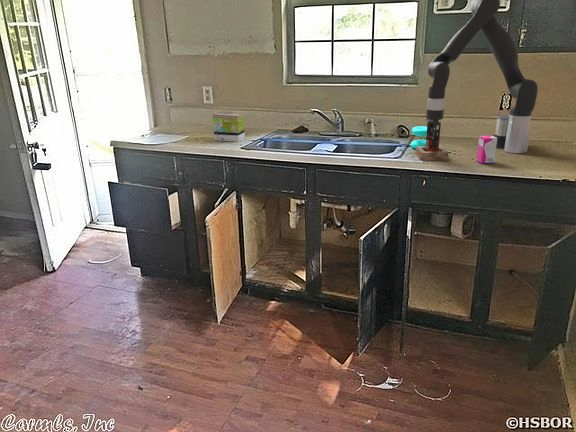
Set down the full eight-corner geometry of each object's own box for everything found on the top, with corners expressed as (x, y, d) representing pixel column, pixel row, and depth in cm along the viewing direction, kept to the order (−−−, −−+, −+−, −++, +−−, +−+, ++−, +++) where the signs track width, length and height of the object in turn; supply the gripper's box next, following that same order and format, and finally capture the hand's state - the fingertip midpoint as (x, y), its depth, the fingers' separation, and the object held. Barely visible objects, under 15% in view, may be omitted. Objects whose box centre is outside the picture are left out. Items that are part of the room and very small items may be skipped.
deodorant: (422, 154, 221) (424, 122, 215) (429, 152, 224) (432, 120, 219) (433, 157, 216) (436, 124, 211) (440, 154, 220) (443, 122, 215)
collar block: (440, 153, 226) (441, 146, 225) (447, 159, 215) (448, 152, 213) (415, 153, 227) (416, 146, 225) (420, 160, 215) (421, 152, 214)
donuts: (426, 125, 239) (436, 129, 231) (424, 144, 243) (435, 149, 234) (408, 126, 237) (418, 130, 228) (406, 146, 241) (417, 150, 232)
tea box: (214, 141, 265) (211, 114, 260) (221, 137, 274) (219, 111, 269) (238, 142, 261) (237, 115, 255) (245, 138, 270) (244, 112, 264)
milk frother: (510, 150, 228) (514, 119, 223) (476, 146, 238) (480, 116, 232) (517, 144, 239) (522, 114, 233) (485, 140, 248) (489, 112, 243)
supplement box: (488, 160, 212) (491, 135, 208) (494, 163, 207) (498, 137, 202) (475, 160, 212) (478, 135, 208) (481, 164, 206) (484, 138, 202)
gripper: (448, 110, 206) (444, 148, 212) (439, 105, 219) (436, 141, 225) (430, 111, 206) (427, 149, 212) (423, 106, 219) (420, 141, 226)
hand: (432, 145), depth 219 cm, fingers closed on deodorant, 6 cm apart
